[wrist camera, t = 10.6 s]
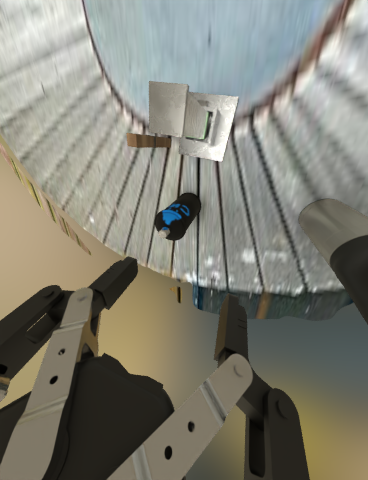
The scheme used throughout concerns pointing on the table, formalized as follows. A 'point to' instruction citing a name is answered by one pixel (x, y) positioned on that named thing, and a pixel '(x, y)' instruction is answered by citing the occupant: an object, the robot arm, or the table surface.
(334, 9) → the table surface
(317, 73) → the table surface
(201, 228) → the table surface
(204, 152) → the stand base
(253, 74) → the table surface
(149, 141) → the banded wooden rod
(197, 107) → the grey-green long block
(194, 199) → the aerosol can
